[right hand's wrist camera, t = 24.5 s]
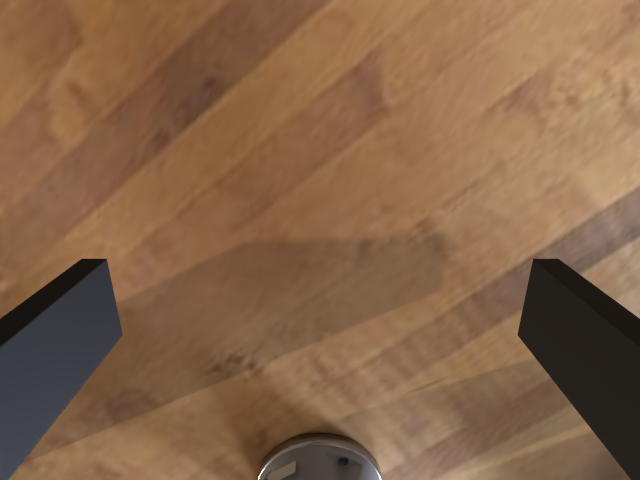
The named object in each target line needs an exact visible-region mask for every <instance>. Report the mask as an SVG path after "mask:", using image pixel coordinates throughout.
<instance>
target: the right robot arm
mask: <svg viewBox="0 0 640 480" xmlns="http://www.w3.org/2000/svg"><path fill="white" fill-rule="evenodd" d="M121 336H122V331H121V326H120V321H119V316H118V311H117V306H116V302H115V297H114V292H113V287H112V282H111V277H110V272H109V267H108V263H107V259H81V260H80V261H78V262H77V263H76V264H74V265H73V266H72V267H70V268H69V269H67V270H66V271H65V272H63V273H62V274H61V275H59V276H58V277H57V278H55V279H54V280H52V281H51V282H50V283H48V284H47V285H46V286H44V287H43V288H42V289H40V290H39V291H38V292H36V293H35V294H33V295H32V296H31V297H29V298H28V299H27V300H25V301H24V302H23V303H21V304H20V305H19V306H17V307H16V308H14V309H13V310H12V311H10V312H9V313H8V314H6V315H5V316H4V317H2V318H1V319H0V480H9V479H10V477H11V476H12V475H13V474H14V472H15V471H16V470H17V468H18V467H19V466H20V465H21V463H22V462H23V461H24V460H25V458H26V457H27V456H28V454H29V453H30V452H31V451H32V449H33V448H34V447H35V446H36V444H37V443H38V442H39V440H40V439H41V438H42V437H43V435H44V434H45V433H46V432H47V430H48V429H49V428H50V426H51V425H52V424H53V423H54V421H55V420H56V419H57V418H58V416H59V415H60V414H61V412H62V411H63V410H64V409H65V407H66V406H67V405H68V404H69V402H70V401H71V400H72V398H73V397H74V396H75V395H76V393H77V392H78V391H79V390H80V388H81V387H82V386H83V384H84V383H85V382H86V381H87V379H88V378H89V377H90V376H91V374H92V373H93V372H94V370H95V369H96V368H97V367H98V365H99V364H100V363H101V362H102V360H103V359H104V358H105V356H106V355H107V354H108V353H109V351H110V350H111V349H112V348H113V346H114V345H115V344H116V342H117V341H118V340H119V339H120V337H121ZM518 336H519V337H520V339H521V340H522V341H523V342H524V344H525V345H526V346H527V348H528V349H529V350H530V351H531V353H532V354H533V355H534V356H535V358H536V359H537V360H538V362H539V363H540V364H541V365H542V367H543V368H544V369H545V370H546V372H547V373H548V374H549V376H550V377H551V378H552V379H553V381H554V382H555V383H556V384H557V386H558V387H559V388H560V390H561V391H562V392H563V393H564V395H565V396H566V397H567V398H568V400H569V401H570V402H571V404H572V405H573V406H574V407H575V409H576V410H577V411H578V412H579V414H580V415H581V416H582V418H583V419H584V420H585V421H586V423H587V424H588V425H589V426H590V428H591V429H592V430H593V432H594V433H595V434H596V435H597V437H598V438H599V439H600V440H601V442H602V443H603V444H604V446H605V447H606V448H607V449H608V451H609V452H610V453H611V454H612V456H613V457H614V458H615V460H616V461H617V462H618V463H619V465H620V466H621V467H622V468H623V470H624V471H625V472H626V474H627V475H628V476H629V477H630V479H631V480H640V319H639V318H638V317H636V316H635V315H634V314H632V313H631V312H630V311H628V310H627V309H626V308H624V307H623V306H621V305H620V304H619V303H617V302H616V301H615V300H613V299H612V298H611V297H609V296H608V295H607V294H605V293H604V292H602V291H601V290H600V289H598V288H597V287H596V286H594V285H593V284H592V283H590V282H589V281H588V280H586V279H585V278H583V277H582V276H581V275H579V274H578V273H577V272H575V271H574V270H573V269H571V268H570V267H568V266H567V265H566V264H564V263H563V262H562V261H560V260H559V259H533V263H532V267H531V272H530V277H529V282H528V287H527V292H526V297H525V302H524V306H523V311H522V316H521V321H520V326H519V331H518ZM258 480H381V474H380V469H379V466H378V464H377V462H376V460H375V459H374V457H373V456H372V455H371V453H370V452H369V451H368V450H366V449H365V448H364V447H363V446H361V445H360V444H358V443H356V442H354V441H352V440H350V439H347V438H345V437H341V436H337V435H332V434H308V435H302V436H298V437H295V438H292V439H289V440H287V441H285V442H283V443H281V444H280V445H278V446H277V447H275V448H274V449H273V450H272V451H271V452H270V453H269V454H268V455H267V456H266V457H265V459H264V460H263V462H262V464H261V466H260V470H259V474H258Z"/></svg>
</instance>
